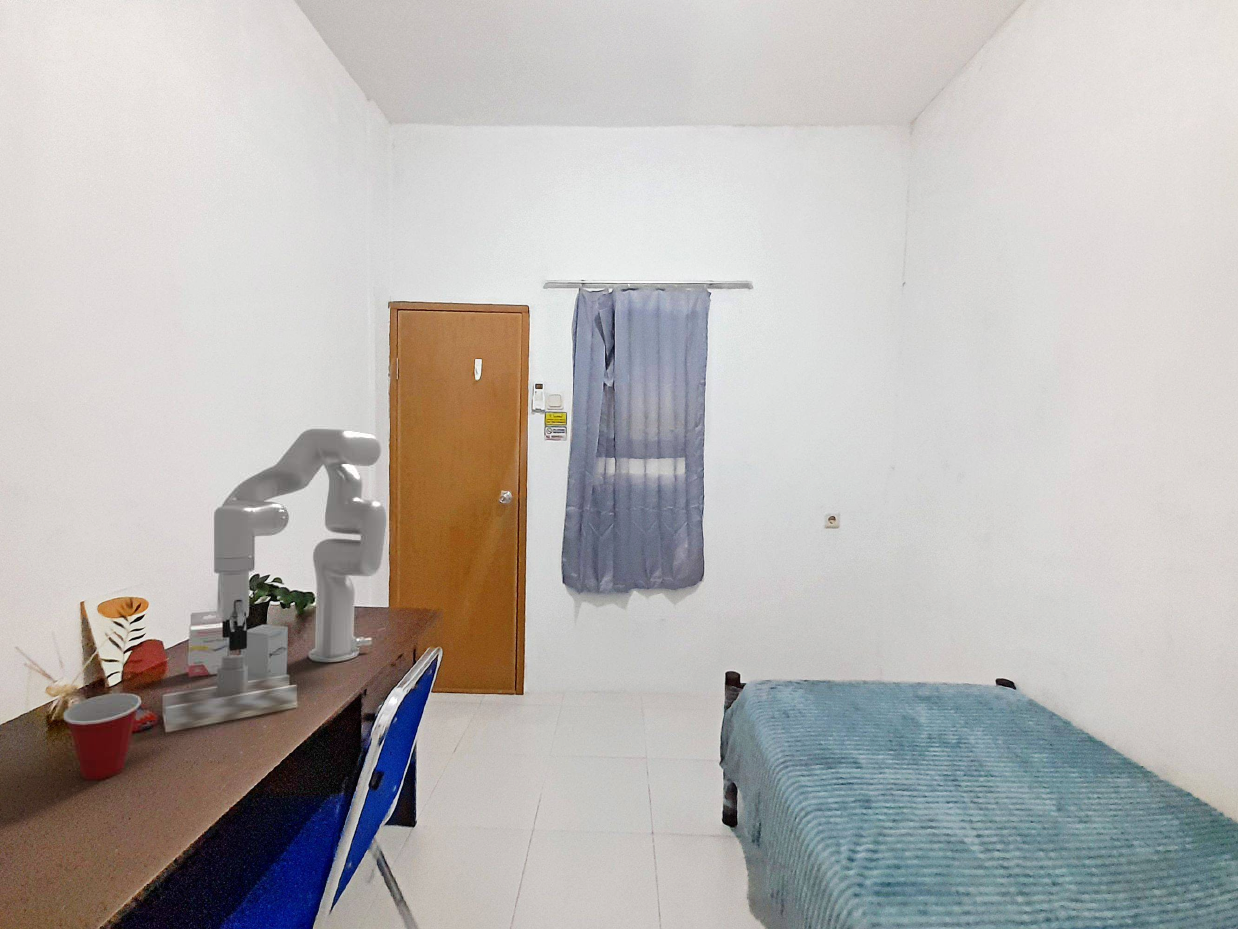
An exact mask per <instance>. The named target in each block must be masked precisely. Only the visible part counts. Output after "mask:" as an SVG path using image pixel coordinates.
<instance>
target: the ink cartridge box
mask: <svg viewBox="0 0 1238 929" xmlns="http://www.w3.org/2000/svg"><path fill="white" fill-rule="evenodd" d="M208 616H215V617H210V618H204V617H208ZM188 634H189V635H188V638H189V639H188V660H187V661H188V664H187V665H188V666H187V667H188V668H187V671H188V678H191V677H193V678H194V677H200V676H201V677H202V676H210V675H217V669H218V668H219V667H221V666H222V656H225V655H227V653H228V645H229V637H228V638H223V636H222V620H221V618H220V616H219V615H218V613H217V610H210V611H209V610H208V611H201V612H199V611H198V612H191V614H190V625H189V632H188Z"/></svg>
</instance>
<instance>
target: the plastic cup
mask: <svg viewBox="0 0 1238 929" xmlns="http://www.w3.org/2000/svg"><path fill="white" fill-rule="evenodd" d="M141 704H142V699H141V696H139V695H137V694H134V693H125V692H120V693H107V694H103V695H99V696H93V697H90V698H88V699H83V700H80V701H79V702H77V703H75V704H73V705H71V706H69V707H68V708H67V709H66V710H65V711H64V712H63V713H62V714H63V715H62V716H63V720H64V721H65V722H67V725H68V727H69V728H70V729H69V730H70V732H71V734H72V740H73V744H74V747H75V752H76V753H75V754H76V756H77V761H78V762H79V768H80V775H82V779H84V780H86V781H99V780H104V779H108V778H110V777H114V776H116V775H117V774H119V773H121V772H122V771H123V769H125V768H124V767H125V766H126V765H125V764H126V761H127V760H126V759H127V756H128V751H129V749H130V748H129V747H130V743H131V738H132V733H133V732H132V729H133V724H134V720H135V717H136V713H137V709H138V707H139V705H141Z"/></svg>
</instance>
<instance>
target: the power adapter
mask: <svg viewBox="0 0 1238 929" xmlns="http://www.w3.org/2000/svg"><path fill="white" fill-rule="evenodd" d="M247 682H248V665H244V656H243V655H241V654H239V650H236V654H230V650H229V645H228V653H227V655H225V656H222V666H221V667H219V668H218V669H217V674H216V686H217V698H221V697H226V696H232V695H238V694H244V693H247Z"/></svg>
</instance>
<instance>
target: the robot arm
mask: <svg viewBox="0 0 1238 929" xmlns="http://www.w3.org/2000/svg"><path fill="white" fill-rule="evenodd" d="M381 449H382V447H381V444H380V441H379V439H378V438H377V437H376V436H374V435H373V434H370V433H365V432H364V433H363V432H356V431H353V430H346V429H337V428H336V429H334V428H332V429H331V428H330V429H329V428H310V429H307V430H305V431H303V432H302V433H301V434H300V435H299V436H298V437H297V438H296V439H295V441H294V442H293V443H292V444H291V446H290V447H289V448H288V449H287V451H286V452H285V453H284V454H283V455H282V457H281V458H280V459H279V460H278V461H277V463H276V464H275V465H273V466H270V467H268V468H265V469H263V470H261V471H260V472H258V473H257V474H254V475H252V476H251V477H248V478H247V479H245V480H243V481H242V482H240V484H238V485H237V486H236V487H235V488H234V489H233V490H232V491H231V493H230V494H229V495H228V496H227V498H225V500H224V502H223V503H222V505H221V506H219V507H217V508H216V509H215V510H214V514H213V572H214V573H215V574H218V576H217V577H218V579H217V600H216V601H217V603H216V611H217V613H218V615H219V616H220V618H221V620H222V636H223V638H228V637H229V652H231V651H232V652H233V651H234V652H235V651H237V650H238V651H239V650H240V651H241V649H246V648H247V630H248V629H247V622H246V621H247V620H246V619H247V618H248V617H249V613H250V572H253V571H255V570H256V566H255V565H256V564H255V563H256V562H255V559H256V558H255V551H256V550H255V549H256V548H255V545H256V542H255V540H256V539H255V538H256V537H261V536H265V537H267V536H268V537H269V536H274V535H275V536H276V535H277V534H279V533H281V532H282V531H284V530H285V529H286V528H287V526H288V523H289V518H290V517H289V512H288V510H287V508H286V507H285V506H284V505H282V504H280V503H278V502H275V501H274V502H273V501H268V500H270V499H272V498H273V499H274V498H276V497H280V496H284V495H289V494H292V493H296V492H298V491H301V490H303V489H305V488H306V487H308V486H309V484H310V483H311V482H312V480H313V479H314V478H315V476H316V475H317V474H318V472H319V471H320V469H321V468H322V467H324V469H325V471H326V473H327V477H328V492H327V498H326V506H325V515H324V525H325V529H327V530H328V531H329V532H332V533H333V534H334V533H335V534H342V535H355V536H356V535H357V536H360V539H350V538H349V539H348V538H328V539H323V540H322V541H320V542H318V543H317V544H316V546H315V548H314V549H313V555H312V561H313V567H314V572H315V582H316V598H315V603H316V604H315V636H314V637H315V638H314V639H315V641H314V643H315V644H314V648H313V649H311V650H310V651H308V658H309V660H311V661H313V662H317V663H318V662H320V663H336V662H337V663H338V662H344V661H348V660H352V659H354V658H356V657H358V655H359V654H360V647H362V646H370V645H372V642H373V641H372V637H364V636H360V637H356V636H355V635H354V631H355V630H354V627H355V596H356V595H355V594H356V593H355V587H354V583H353V581H352V579H351V577H350V576H352V577H372V576H374V575H375V574H376V573H377V572H378V571H379V569H380V567H381V564H382V560H383V551H384V545H385V544H384V543H385V536H386V535H385V534H386V527H387V514H386V510H385V507H384V506H383V504H382V503H381V502H379V501H376V500H372V499H362V494H363V480H362V479H363V478H362V476H361V474H360V472H359V470H358V469H357V468H356V466H358V467H360V466H361V467H371V466H372V465H374V464H376V463H377V461H378V460H379V459H380V456H381V452H382V450H381Z"/></svg>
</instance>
